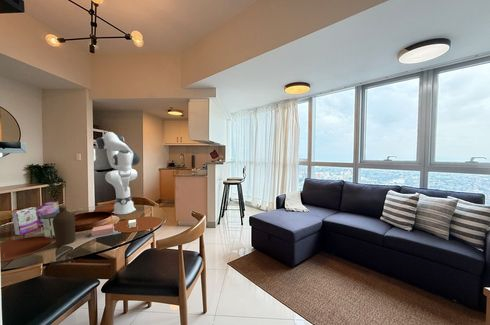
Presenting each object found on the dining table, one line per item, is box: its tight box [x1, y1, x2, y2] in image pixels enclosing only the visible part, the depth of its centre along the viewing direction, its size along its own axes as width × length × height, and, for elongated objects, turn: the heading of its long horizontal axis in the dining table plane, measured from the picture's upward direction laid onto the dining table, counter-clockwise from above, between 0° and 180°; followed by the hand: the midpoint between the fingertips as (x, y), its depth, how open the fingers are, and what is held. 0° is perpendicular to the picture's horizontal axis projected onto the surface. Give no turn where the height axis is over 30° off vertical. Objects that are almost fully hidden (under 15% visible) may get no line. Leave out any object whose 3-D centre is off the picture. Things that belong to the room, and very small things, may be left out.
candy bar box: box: [11, 206, 40, 236], centre depth 146 cm, size 11×5×16 cm, turn 168°
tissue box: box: [42, 212, 59, 237], centre depth 142 cm, size 10×10×14 cm
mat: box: [89, 230, 122, 240], centre depth 147 cm, size 12×28×1 cm, turn 120°
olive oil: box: [52, 204, 77, 247], centre depth 130 cm, size 11×11×25 cm
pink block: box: [91, 223, 115, 237], centre depth 144 cm, size 7×12×4 cm, turn 120°
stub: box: [127, 219, 137, 228], centre depth 153 cm, size 5×5×5 cm
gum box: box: [36, 200, 60, 227], centre depth 165 cm, size 24×8×14 cm, turn 27°
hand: (125, 189), depth 156 cm, fingers open, 8 cm apart
